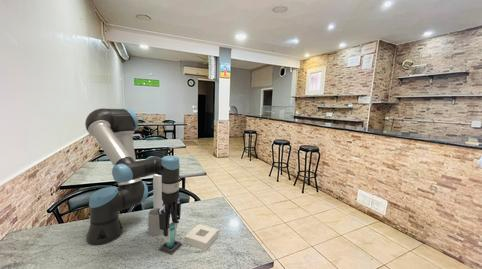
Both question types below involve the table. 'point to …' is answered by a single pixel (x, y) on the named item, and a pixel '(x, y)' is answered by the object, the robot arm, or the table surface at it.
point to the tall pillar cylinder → (157, 191)
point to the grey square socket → (170, 250)
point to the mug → (154, 222)
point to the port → (199, 241)
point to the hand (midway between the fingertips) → (170, 238)
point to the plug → (171, 236)
